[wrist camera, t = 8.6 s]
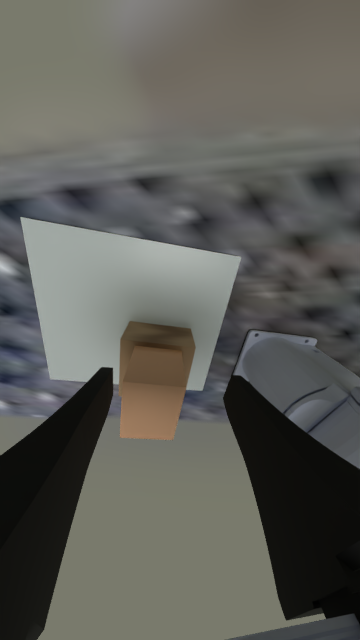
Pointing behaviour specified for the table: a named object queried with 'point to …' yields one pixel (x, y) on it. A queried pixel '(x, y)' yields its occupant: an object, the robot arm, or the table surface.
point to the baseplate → (121, 295)
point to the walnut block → (155, 344)
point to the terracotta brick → (152, 393)
